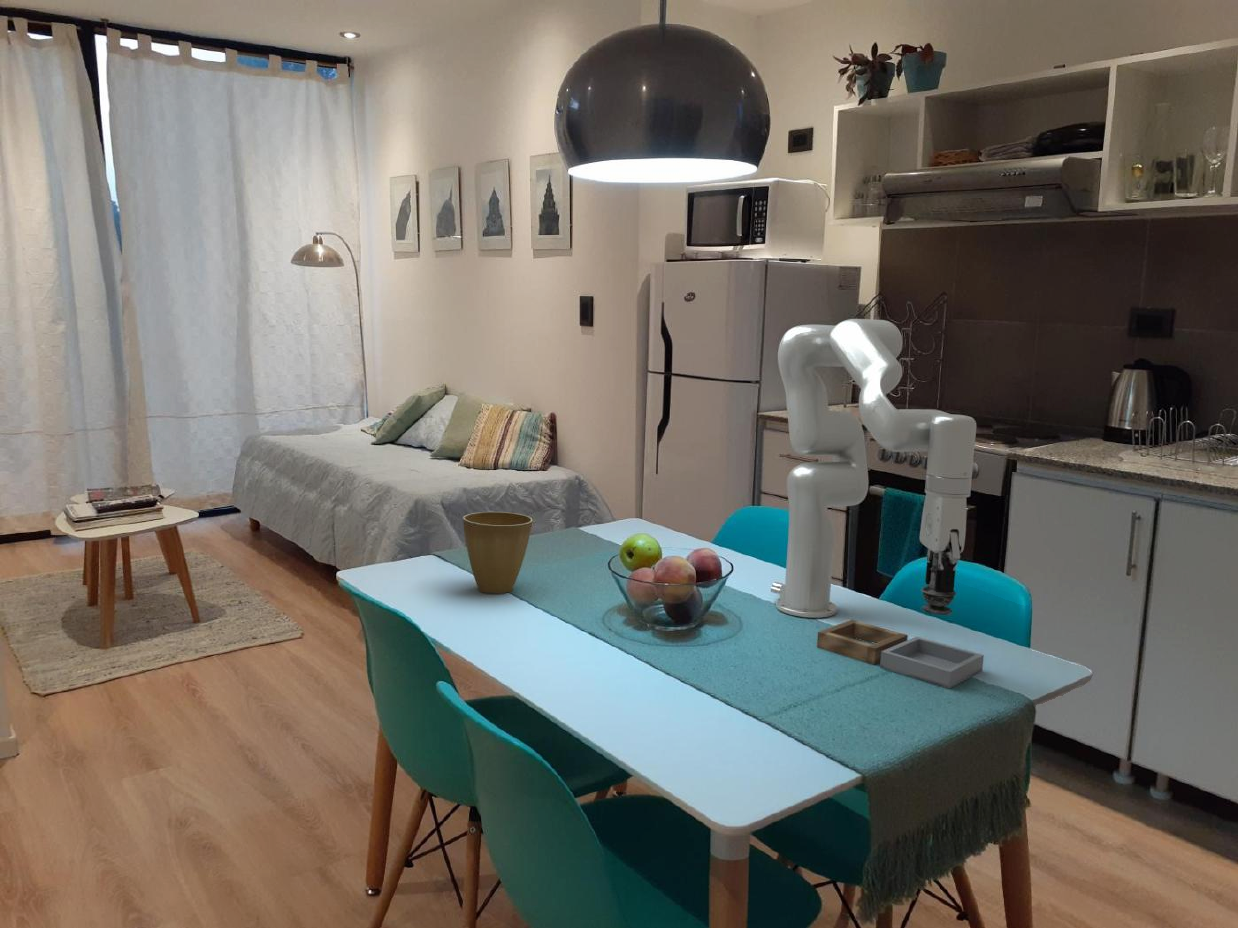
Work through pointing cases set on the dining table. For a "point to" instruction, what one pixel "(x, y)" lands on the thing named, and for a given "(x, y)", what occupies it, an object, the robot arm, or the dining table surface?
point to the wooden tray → (842, 643)
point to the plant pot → (496, 548)
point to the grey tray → (932, 662)
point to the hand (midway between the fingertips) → (939, 587)
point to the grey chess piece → (936, 593)
